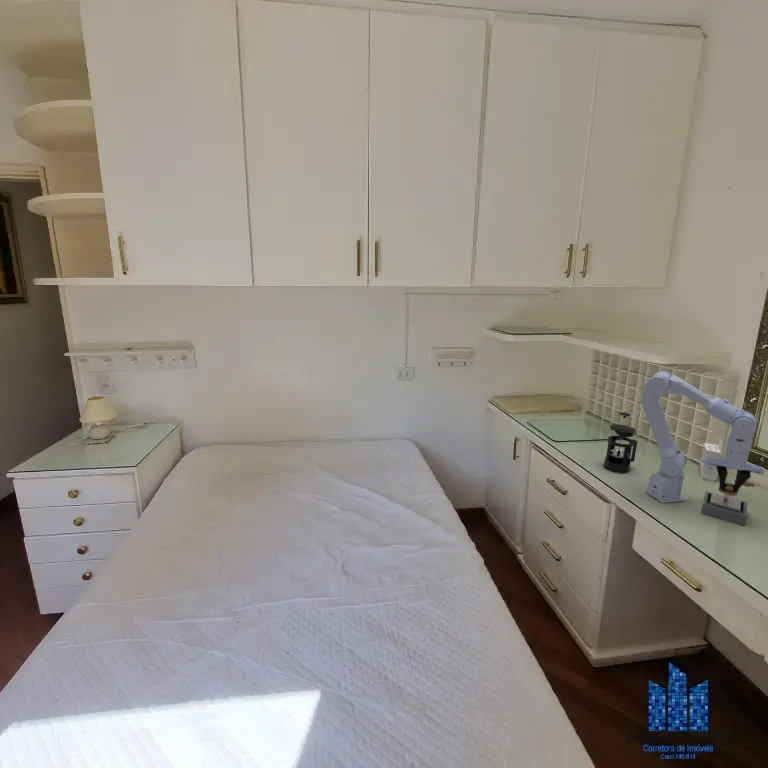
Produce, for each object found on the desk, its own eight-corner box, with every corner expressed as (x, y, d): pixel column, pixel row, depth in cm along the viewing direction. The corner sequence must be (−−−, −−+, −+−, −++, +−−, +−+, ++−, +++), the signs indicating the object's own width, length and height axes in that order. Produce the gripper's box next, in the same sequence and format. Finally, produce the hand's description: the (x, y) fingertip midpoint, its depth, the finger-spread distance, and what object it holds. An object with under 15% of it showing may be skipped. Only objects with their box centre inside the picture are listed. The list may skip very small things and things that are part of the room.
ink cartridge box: (697, 469, 172) (705, 435, 169) (713, 472, 170) (720, 437, 166) (700, 478, 165) (708, 442, 161) (716, 481, 163) (724, 445, 159)
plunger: (739, 511, 136) (744, 492, 134) (709, 502, 140) (713, 485, 139) (740, 501, 141) (744, 484, 140) (711, 493, 146) (715, 476, 144)
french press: (610, 473, 168) (618, 417, 162) (596, 463, 177) (604, 409, 172) (639, 472, 169) (648, 417, 163) (624, 462, 178) (633, 409, 172)
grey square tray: (744, 526, 134) (746, 516, 133) (700, 513, 141) (702, 503, 140) (744, 511, 143) (747, 502, 142) (703, 500, 149) (705, 491, 148)
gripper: (763, 450, 136) (753, 489, 140) (707, 441, 143) (699, 479, 146) (770, 458, 130) (759, 499, 134) (711, 449, 137) (702, 488, 140)
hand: (728, 489), depth 140 cm, fingers closed on plunger, 3 cm apart
